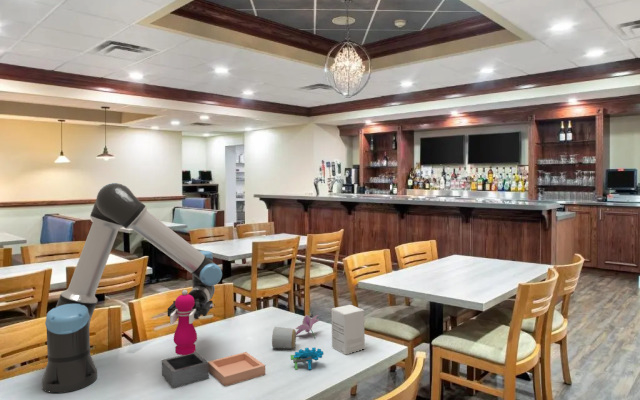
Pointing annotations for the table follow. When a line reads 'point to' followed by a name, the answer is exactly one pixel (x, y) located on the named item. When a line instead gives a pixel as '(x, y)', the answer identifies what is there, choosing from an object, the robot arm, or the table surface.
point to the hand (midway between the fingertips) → (180, 319)
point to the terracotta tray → (236, 368)
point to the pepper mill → (184, 325)
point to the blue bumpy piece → (306, 356)
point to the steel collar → (185, 369)
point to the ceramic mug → (283, 338)
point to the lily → (307, 324)
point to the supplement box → (348, 329)
